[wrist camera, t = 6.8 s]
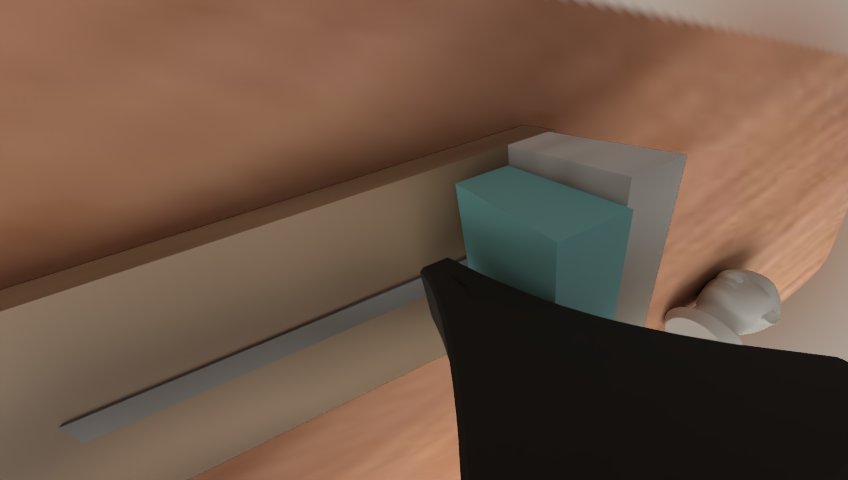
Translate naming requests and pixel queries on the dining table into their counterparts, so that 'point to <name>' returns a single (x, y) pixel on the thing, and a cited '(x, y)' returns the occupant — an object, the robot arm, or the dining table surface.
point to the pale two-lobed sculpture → (728, 308)
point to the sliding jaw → (545, 238)
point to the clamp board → (274, 312)
